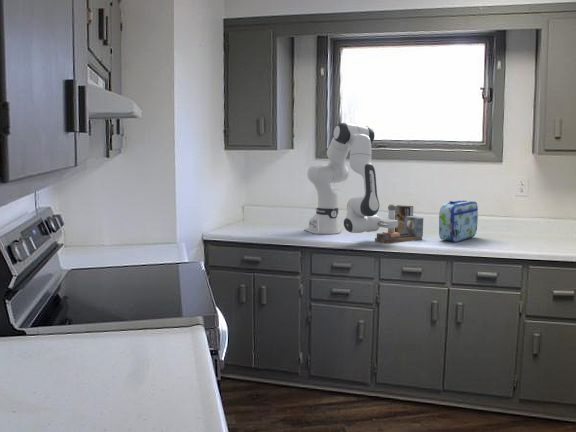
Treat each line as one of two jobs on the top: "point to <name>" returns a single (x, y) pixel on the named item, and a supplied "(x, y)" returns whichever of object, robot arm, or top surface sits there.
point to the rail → (405, 231)
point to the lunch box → (458, 220)
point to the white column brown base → (391, 216)
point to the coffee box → (402, 216)
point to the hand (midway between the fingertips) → (392, 220)
